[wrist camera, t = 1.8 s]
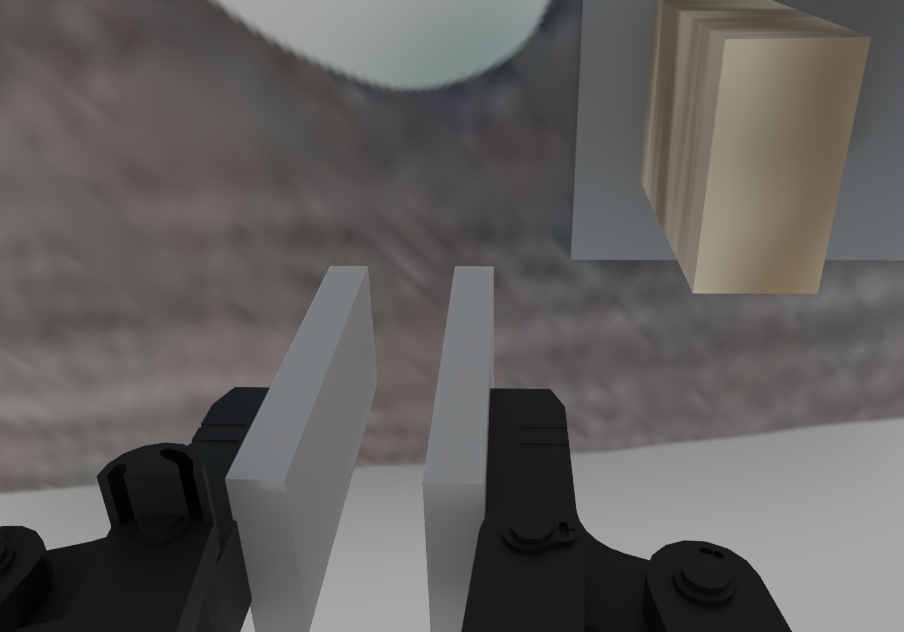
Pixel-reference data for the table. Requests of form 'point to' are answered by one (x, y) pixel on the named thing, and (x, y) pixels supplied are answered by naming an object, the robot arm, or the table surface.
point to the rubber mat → (623, 121)
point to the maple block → (748, 140)
